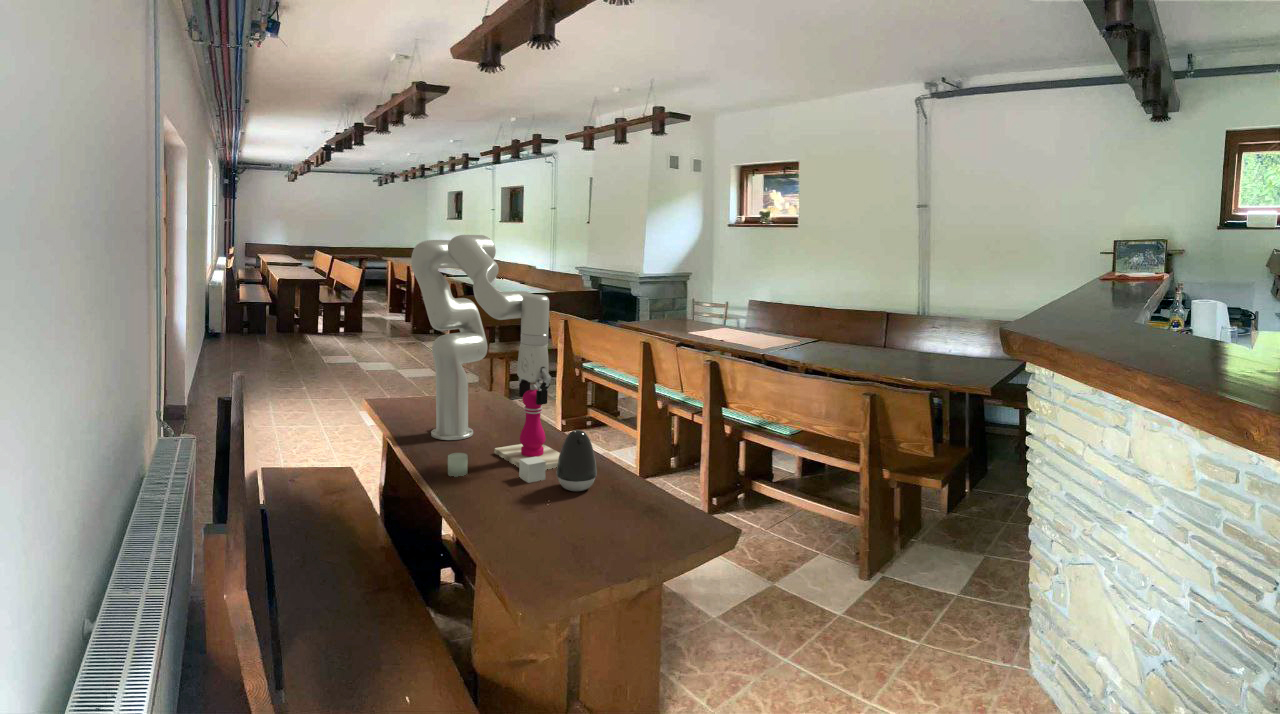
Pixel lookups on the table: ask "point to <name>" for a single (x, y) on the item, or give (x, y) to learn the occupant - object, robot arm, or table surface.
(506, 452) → the ash board
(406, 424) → the table surface
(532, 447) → the pepper mill
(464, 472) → the sage cylinder
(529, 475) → the grey block
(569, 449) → the dark grey egg shape
